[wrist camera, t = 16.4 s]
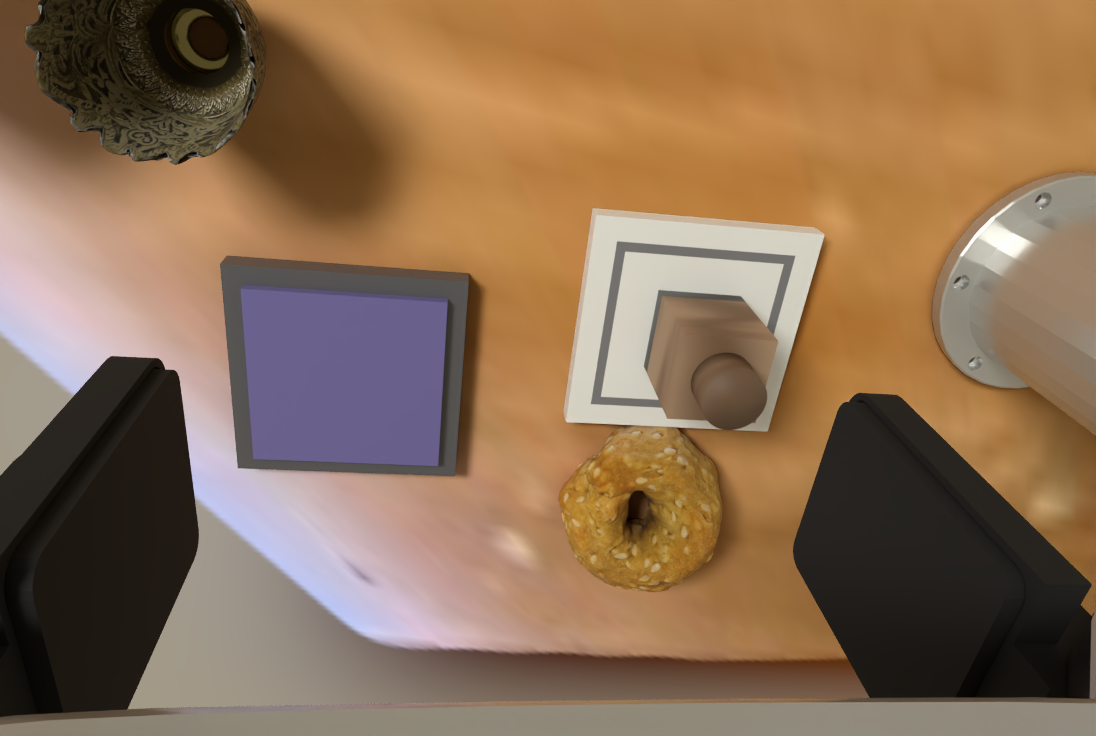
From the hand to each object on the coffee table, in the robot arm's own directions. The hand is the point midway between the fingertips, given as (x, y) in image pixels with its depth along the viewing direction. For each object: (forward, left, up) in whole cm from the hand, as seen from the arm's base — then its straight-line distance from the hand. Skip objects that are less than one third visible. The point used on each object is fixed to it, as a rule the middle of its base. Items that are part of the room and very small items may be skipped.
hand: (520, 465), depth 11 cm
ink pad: (+6, +14, -29) cm, 32 cm away
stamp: (-12, +10, -27) cm, 31 cm away
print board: (-12, +10, -29) cm, 32 cm away
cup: (+12, -2, -29) cm, 31 cm away
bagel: (-11, +21, -29) cm, 38 cm away
